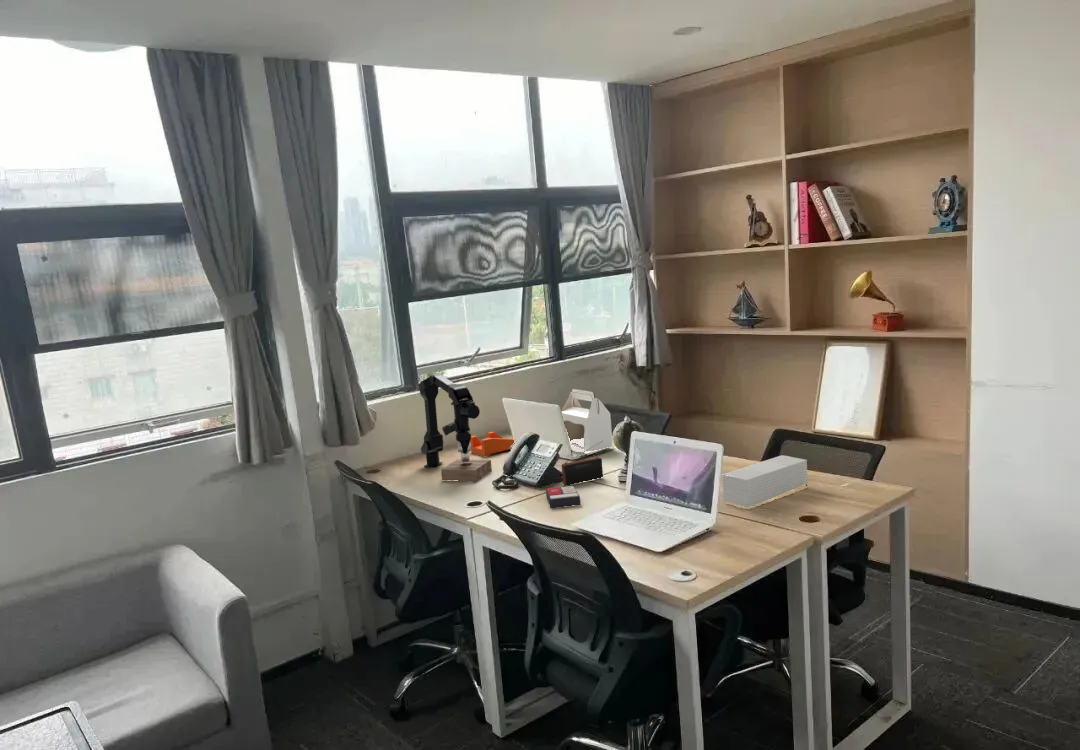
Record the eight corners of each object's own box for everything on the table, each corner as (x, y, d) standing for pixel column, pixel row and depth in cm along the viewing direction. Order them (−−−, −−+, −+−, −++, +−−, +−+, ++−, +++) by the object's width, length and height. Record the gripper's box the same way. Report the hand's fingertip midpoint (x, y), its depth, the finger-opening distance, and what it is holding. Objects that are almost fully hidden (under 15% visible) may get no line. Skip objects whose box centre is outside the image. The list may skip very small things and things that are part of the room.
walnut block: (458, 470, 341) (457, 459, 340) (491, 470, 335) (490, 459, 334) (442, 480, 326) (440, 469, 325) (476, 481, 320) (475, 470, 320)
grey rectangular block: (783, 483, 286) (782, 455, 284) (807, 488, 277) (806, 459, 276) (723, 504, 268) (722, 474, 267) (747, 511, 260) (746, 480, 258)
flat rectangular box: (574, 484, 293) (579, 494, 279) (575, 495, 294) (580, 506, 279) (545, 487, 293) (549, 497, 278) (546, 498, 293) (550, 509, 278)
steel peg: (462, 459, 333) (460, 442, 332) (474, 459, 331) (472, 442, 330) (456, 462, 328) (455, 445, 327) (468, 462, 326) (467, 445, 325)
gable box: (561, 448, 365) (557, 390, 360) (584, 443, 372) (579, 385, 368) (590, 456, 346) (586, 394, 342) (613, 450, 353) (609, 390, 349)
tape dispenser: (485, 457, 360) (483, 440, 359) (471, 453, 370) (469, 436, 369) (517, 449, 370) (515, 433, 369) (502, 446, 381) (501, 429, 379)
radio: (566, 486, 303) (563, 449, 301) (563, 485, 306) (560, 448, 304) (608, 478, 310) (605, 441, 308) (604, 476, 313) (601, 440, 311)
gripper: (442, 413, 335) (445, 448, 337) (442, 422, 317) (446, 459, 319) (467, 411, 336) (471, 446, 338) (469, 419, 318) (472, 456, 320)
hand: (464, 451), depth 329 cm, fingers closed on steel peg, 6 cm apart
